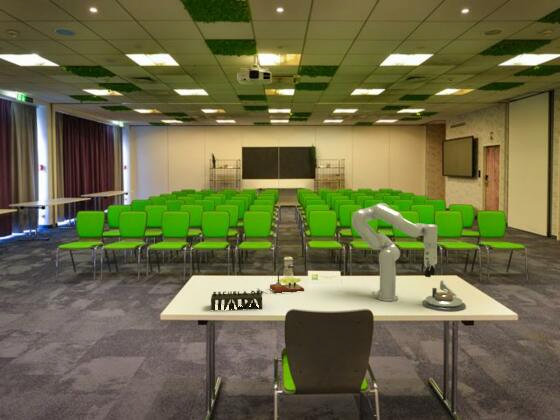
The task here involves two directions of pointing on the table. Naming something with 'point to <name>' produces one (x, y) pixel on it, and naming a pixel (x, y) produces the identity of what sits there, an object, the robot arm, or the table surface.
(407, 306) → the table surface
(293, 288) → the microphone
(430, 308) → the base
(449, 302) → the turntable
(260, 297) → the sign
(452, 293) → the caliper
